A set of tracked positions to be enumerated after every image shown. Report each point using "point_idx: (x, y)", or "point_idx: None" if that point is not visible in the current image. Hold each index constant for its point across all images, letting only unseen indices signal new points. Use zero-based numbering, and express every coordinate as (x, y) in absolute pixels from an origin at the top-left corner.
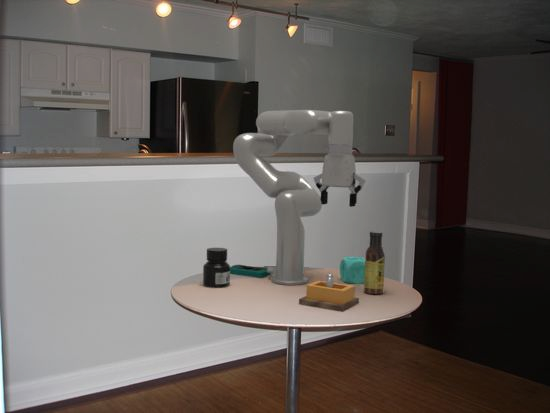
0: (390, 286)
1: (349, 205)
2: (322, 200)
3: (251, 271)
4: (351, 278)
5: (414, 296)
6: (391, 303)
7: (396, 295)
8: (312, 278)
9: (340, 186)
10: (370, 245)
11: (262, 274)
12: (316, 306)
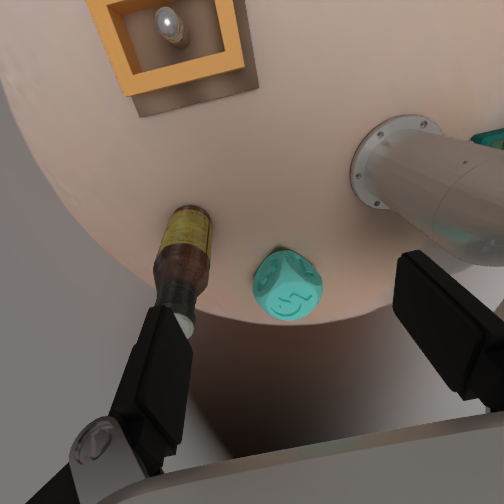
0: (207, 286)
1: (167, 308)
2: (427, 268)
3: None
4: (274, 256)
5: (122, 259)
6: (99, 175)
7: (148, 240)
8: (362, 228)
9: (228, 470)
10: (184, 281)
11: (477, 141)
12: None
